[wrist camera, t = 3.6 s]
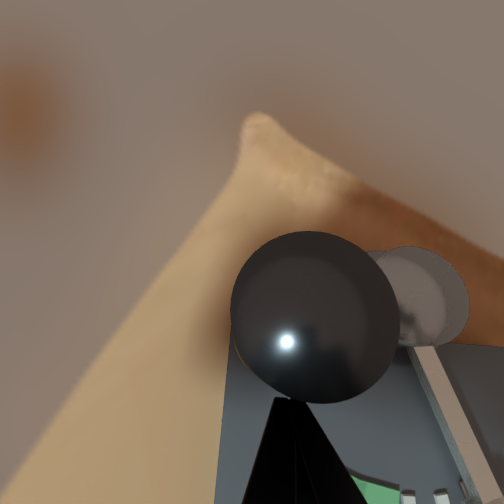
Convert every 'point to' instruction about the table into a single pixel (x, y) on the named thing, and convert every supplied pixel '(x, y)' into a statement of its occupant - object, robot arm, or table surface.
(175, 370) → the table surface
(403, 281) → the dial
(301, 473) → the robot arm
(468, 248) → the table surface
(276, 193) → the table surface
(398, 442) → the gauge board
